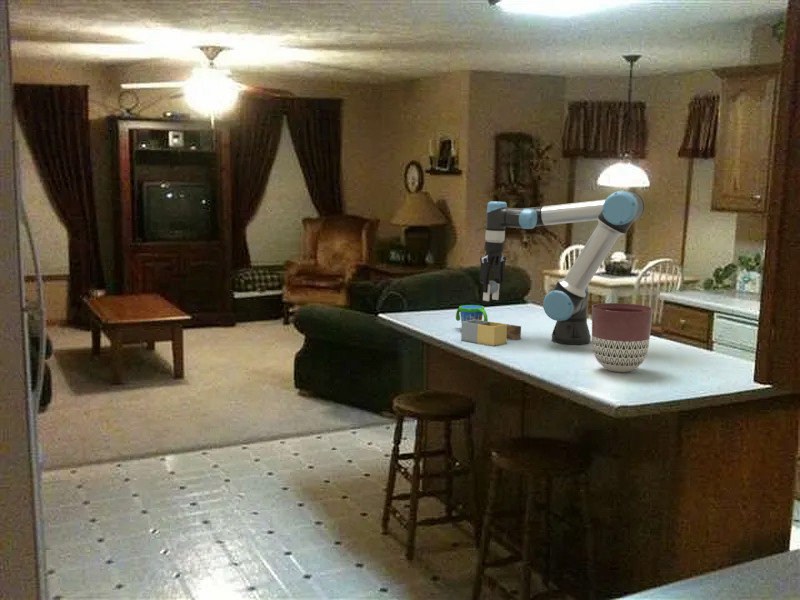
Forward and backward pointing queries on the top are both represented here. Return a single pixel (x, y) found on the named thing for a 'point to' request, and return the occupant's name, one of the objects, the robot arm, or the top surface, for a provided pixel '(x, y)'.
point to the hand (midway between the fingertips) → (490, 299)
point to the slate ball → (493, 286)
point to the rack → (513, 332)
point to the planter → (620, 335)
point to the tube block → (484, 332)
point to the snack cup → (471, 313)
